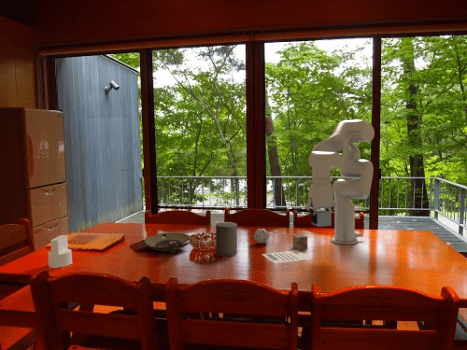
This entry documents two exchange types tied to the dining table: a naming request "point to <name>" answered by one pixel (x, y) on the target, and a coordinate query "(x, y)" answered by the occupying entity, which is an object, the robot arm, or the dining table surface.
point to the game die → (261, 236)
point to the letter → (286, 256)
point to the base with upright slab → (59, 252)
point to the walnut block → (300, 242)
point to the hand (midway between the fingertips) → (321, 222)
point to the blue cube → (323, 218)
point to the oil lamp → (167, 241)
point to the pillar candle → (226, 239)
